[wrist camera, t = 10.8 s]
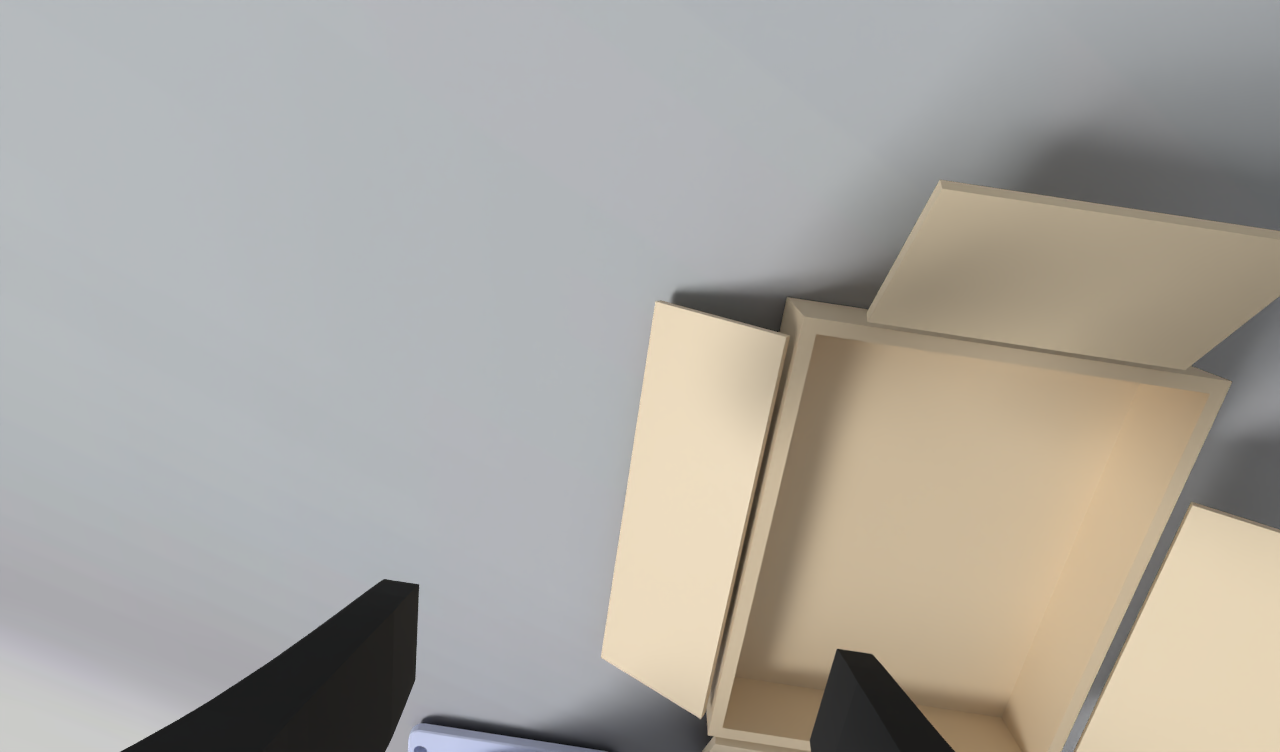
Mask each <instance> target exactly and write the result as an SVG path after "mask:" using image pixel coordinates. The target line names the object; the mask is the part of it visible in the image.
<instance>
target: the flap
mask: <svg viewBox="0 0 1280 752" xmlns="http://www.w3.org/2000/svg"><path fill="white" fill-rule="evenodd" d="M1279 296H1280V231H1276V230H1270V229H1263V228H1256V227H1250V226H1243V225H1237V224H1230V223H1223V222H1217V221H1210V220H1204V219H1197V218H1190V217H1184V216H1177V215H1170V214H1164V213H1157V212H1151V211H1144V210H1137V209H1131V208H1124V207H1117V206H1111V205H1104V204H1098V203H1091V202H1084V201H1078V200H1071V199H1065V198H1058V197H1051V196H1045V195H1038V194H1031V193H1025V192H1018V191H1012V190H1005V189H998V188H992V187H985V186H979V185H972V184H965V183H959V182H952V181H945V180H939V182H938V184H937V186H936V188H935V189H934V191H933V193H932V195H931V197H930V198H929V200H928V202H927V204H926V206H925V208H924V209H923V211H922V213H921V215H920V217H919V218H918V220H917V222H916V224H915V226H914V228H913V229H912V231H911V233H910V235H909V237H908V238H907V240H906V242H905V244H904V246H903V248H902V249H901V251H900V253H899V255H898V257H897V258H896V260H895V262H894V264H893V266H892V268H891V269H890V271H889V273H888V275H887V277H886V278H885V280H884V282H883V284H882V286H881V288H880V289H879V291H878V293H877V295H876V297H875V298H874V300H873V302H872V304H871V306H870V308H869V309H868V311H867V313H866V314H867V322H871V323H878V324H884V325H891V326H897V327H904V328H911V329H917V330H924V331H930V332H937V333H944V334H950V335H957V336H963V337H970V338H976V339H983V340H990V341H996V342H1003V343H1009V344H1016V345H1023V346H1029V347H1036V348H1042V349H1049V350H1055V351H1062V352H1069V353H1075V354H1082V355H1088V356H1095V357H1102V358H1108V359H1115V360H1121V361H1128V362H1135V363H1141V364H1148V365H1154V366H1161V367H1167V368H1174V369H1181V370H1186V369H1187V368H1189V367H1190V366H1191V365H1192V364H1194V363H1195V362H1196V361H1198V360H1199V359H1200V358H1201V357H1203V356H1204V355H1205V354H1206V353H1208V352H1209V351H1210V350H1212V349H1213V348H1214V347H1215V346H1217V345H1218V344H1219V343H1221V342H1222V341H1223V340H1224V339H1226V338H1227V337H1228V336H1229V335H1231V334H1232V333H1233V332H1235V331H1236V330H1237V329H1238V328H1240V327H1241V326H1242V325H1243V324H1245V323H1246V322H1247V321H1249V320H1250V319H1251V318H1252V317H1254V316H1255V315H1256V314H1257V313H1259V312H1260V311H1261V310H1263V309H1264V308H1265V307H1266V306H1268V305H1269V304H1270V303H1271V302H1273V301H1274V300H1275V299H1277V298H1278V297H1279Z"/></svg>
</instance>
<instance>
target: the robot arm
mask: <svg viewBox="0 0 1280 752" xmlns="http://www.w3.org/2000/svg"><path fill="white" fill-rule="evenodd" d="M418 597H419V584H412V583H406V582H399V581H393V580H386V579H383V580H382V581H381V582H379V583H378V584H376V585H375V586H374V587H372V588H371V589H369V590H368V591H367V592H365V593H364V594H362V595H361V596H360V597H358V598H357V599H356V600H354V601H353V602H352V603H350V604H349V605H348V606H346V607H345V608H344V609H342V610H341V611H340V612H338V613H337V614H336V615H334V616H333V617H332V618H330V619H329V620H327V621H326V622H325V623H323V624H322V625H321V626H319V627H318V628H317V629H315V630H314V631H312V632H311V633H310V634H308V635H307V636H305V637H304V638H303V639H301V640H300V641H298V642H297V643H296V644H294V645H293V646H291V647H290V648H288V649H287V650H286V651H284V652H283V653H281V654H280V655H279V656H277V657H276V658H274V659H273V660H271V661H270V662H269V663H267V664H266V665H264V666H263V667H261V668H260V669H258V670H257V671H255V672H253V673H252V674H250V675H249V676H247V677H246V678H244V679H243V680H241V681H240V682H238V683H237V684H235V685H234V686H232V687H230V688H229V689H227V690H226V691H224V692H223V693H221V694H220V695H218V696H217V697H215V698H214V699H212V700H210V701H209V702H207V703H206V704H204V705H202V706H201V707H199V708H197V709H196V710H194V711H192V712H191V713H189V714H187V715H185V716H184V717H182V718H180V719H179V720H177V721H175V722H173V723H172V724H170V725H168V726H166V727H164V728H163V729H161V730H159V731H157V732H155V733H154V734H152V735H150V736H148V737H147V738H145V739H143V740H141V741H139V742H138V743H136V744H134V745H132V746H130V747H128V748H126V749H125V750H123V751H121V752H385V751H386V749H387V747H388V745H389V743H390V741H391V739H392V736H393V734H394V731H395V729H396V727H397V724H398V722H399V719H400V717H401V715H402V712H403V710H404V707H405V705H406V702H407V699H408V697H409V694H410V692H411V689H412V687H413V684H414V682H415V672H416V647H417V622H418ZM421 746H422V747H421ZM424 747H425V748H424ZM810 747H811V752H955V751H954V750H953V749H952V747H951V746H950V745H949V744H948V743H947V742H946V741H945V739H944V738H943V737H942V736H941V735H940V734H939V732H938V731H937V730H936V729H935V728H934V726H933V725H932V724H931V723H930V722H929V721H928V719H927V718H926V717H925V716H924V715H923V713H922V712H921V711H920V710H919V709H918V707H917V706H916V705H915V704H914V703H913V701H912V700H911V699H910V698H909V697H908V695H907V694H906V693H905V692H904V691H903V689H902V688H901V687H900V686H899V685H898V683H897V682H896V681H895V680H894V679H893V677H892V676H891V675H890V674H889V673H888V671H887V670H886V669H885V668H884V667H883V665H882V664H881V663H880V662H879V661H878V660H877V659H876V657H875V656H874V655H873V654H869V653H863V652H856V651H850V650H843V649H837V650H836V653H835V657H834V660H833V663H832V667H831V670H830V673H829V677H828V680H827V684H826V687H825V690H824V694H823V697H822V700H821V704H820V707H819V711H818V714H817V717H816V721H815V724H814V727H813V731H812V734H811V738H810ZM408 752H608V751H601V750H595V749H588V748H582V747H575V746H569V745H562V744H556V743H549V742H543V741H536V740H530V739H523V738H517V737H510V736H504V735H497V734H491V733H484V732H478V731H471V730H465V729H458V728H452V727H445V726H439V725H432V724H426V723H420V724H417V725H415V726H414V727H413V728H412V730H411V733H410V735H409V738H408Z"/></svg>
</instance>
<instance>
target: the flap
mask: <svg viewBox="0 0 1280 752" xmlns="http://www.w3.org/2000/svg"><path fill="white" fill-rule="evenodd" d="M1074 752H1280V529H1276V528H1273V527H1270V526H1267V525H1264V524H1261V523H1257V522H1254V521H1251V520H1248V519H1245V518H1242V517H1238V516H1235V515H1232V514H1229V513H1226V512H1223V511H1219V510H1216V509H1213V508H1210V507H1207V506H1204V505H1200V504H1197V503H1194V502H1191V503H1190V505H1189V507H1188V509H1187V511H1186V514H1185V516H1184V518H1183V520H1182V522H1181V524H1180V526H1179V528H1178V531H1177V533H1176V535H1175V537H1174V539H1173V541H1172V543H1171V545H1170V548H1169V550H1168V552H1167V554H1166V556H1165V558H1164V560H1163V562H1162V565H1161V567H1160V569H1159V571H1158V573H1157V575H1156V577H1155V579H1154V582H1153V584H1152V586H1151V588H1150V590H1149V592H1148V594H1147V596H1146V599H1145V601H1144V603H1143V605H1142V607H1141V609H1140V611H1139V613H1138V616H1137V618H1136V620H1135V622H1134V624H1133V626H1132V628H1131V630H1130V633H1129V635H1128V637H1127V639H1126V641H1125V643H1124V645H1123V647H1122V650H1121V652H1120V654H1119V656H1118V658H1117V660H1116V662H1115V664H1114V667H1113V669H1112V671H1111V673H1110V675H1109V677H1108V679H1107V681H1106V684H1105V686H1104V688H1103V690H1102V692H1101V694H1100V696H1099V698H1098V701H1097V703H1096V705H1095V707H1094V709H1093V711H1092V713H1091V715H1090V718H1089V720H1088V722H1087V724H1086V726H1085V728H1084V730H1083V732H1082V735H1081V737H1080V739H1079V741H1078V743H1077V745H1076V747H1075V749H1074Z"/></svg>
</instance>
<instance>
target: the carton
mask: <svg viewBox="0 0 1280 752" xmlns="http://www.w3.org/2000/svg"><path fill="white" fill-rule="evenodd" d="M867 311H868V309H863V308H856V307H849V306H843V305H836V304H830V303H823V302H817V301H810V300H803V299H797V298H790V297H787V299H786V304H785V309H784V313H783V318H782V322H781V327H780V331H779V332H776V331H772V330H768V329H765V328H761V327H757V326H754V325H750V324H746V323H742V322H739V321H735V320H731V319H728V318H724V317H720V316H717V315H713V314H709V313H705V312H702V311H698V310H694V309H691V308H687V307H683V306H679V305H676V304H672V303H668V302H665V301H656V302H655V308H654V315H653V321H652V328H651V334H650V341H649V347H648V354H647V360H646V367H645V373H644V380H643V386H642V393H641V399H640V406H639V412H638V419H637V425H636V432H635V439H634V445H633V452H632V458H631V465H630V471H629V478H628V484H627V491H626V497H625V504H624V510H623V517H622V523H621V530H620V536H619V543H618V549H617V556H616V562H615V569H614V575H613V582H612V588H611V595H610V601H609V608H608V615H607V621H606V628H605V634H604V641H603V647H602V654H601V658H603V659H604V660H606V661H608V662H609V663H611V664H612V665H614V666H616V667H617V668H619V669H620V670H622V671H624V672H625V673H627V674H629V675H630V676H632V677H633V678H635V679H637V680H638V681H640V682H642V683H643V684H645V685H646V686H648V687H650V688H651V689H653V690H654V691H656V692H658V693H659V694H661V695H663V696H664V697H666V698H667V699H669V700H671V701H672V702H674V703H676V704H677V705H679V706H680V707H682V708H684V709H685V710H687V711H688V712H690V713H692V714H693V715H695V716H697V717H698V718H700V719H701V718H702V717H703V716H704V714H705V712H707V729H708V736H714V737H713V738H712V739H711V740H710V742H709V743H708V744H707V746H706V747H705V748H704V749H703V751H702V752H811V747H810V738H811V734H812V731H813V727H814V724H815V721H816V717H817V714H818V711H819V707H820V704H821V700H822V697H823V694H824V690H825V687H826V684H827V680H828V677H829V673H830V670H831V667H832V663H833V660H834V657H835V653H836V650H837V649H843V650H850V651H856V652H863V653H869V654H873V655H874V656H875V657H876V659H877V660H878V661H879V662H880V663H881V664H882V665H883V667H884V668H885V669H886V670H887V671H888V673H889V674H890V675H891V676H892V677H893V679H894V680H895V681H896V682H897V683H898V685H899V686H900V687H901V688H902V689H903V691H904V692H905V693H906V694H907V695H908V697H909V698H910V699H911V700H912V701H913V703H914V704H915V705H916V706H917V707H918V709H919V710H920V711H921V712H922V713H923V715H924V716H925V717H926V718H927V719H928V721H929V722H930V723H931V724H932V725H933V726H934V728H935V729H936V730H937V731H938V732H939V734H940V735H941V736H942V737H943V738H944V739H945V741H946V742H947V743H948V744H949V745H950V746H951V747H952V749H953V750H954V751H955V752H1061V751H1062V749H1063V747H1064V744H1065V742H1066V740H1067V738H1068V736H1069V734H1070V731H1071V729H1072V727H1073V725H1074V723H1075V721H1076V718H1077V716H1078V714H1079V712H1080V710H1081V708H1082V705H1083V703H1084V701H1085V699H1086V697H1087V695H1088V692H1089V690H1090V688H1091V686H1092V684H1093V682H1094V679H1095V677H1096V675H1097V673H1098V671H1099V669H1100V667H1101V664H1102V662H1103V660H1104V658H1105V656H1106V654H1107V651H1108V649H1109V647H1110V645H1111V643H1112V641H1113V638H1114V636H1115V634H1116V632H1117V630H1118V628H1119V625H1120V623H1121V621H1122V619H1123V617H1124V615H1125V612H1126V610H1127V608H1128V606H1129V604H1130V602H1131V600H1132V597H1133V595H1134V593H1135V591H1136V589H1137V587H1138V584H1139V582H1140V580H1141V578H1142V576H1143V574H1144V571H1145V569H1146V567H1147V565H1148V563H1149V561H1150V558H1151V556H1152V554H1153V552H1154V550H1155V548H1156V545H1157V543H1158V541H1159V539H1160V537H1161V535H1162V532H1163V530H1164V528H1165V526H1166V524H1167V522H1168V519H1169V517H1170V515H1171V513H1172V511H1173V509H1174V507H1175V504H1176V502H1177V500H1178V498H1179V496H1180V494H1181V491H1182V489H1183V487H1184V485H1185V483H1186V481H1187V478H1188V476H1189V474H1190V472H1191V470H1192V468H1193V465H1194V463H1195V461H1196V459H1197V457H1198V455H1199V452H1200V450H1201V448H1202V446H1203V444H1204V442H1205V440H1206V437H1207V435H1208V433H1209V431H1210V429H1211V427H1212V424H1213V422H1214V420H1215V418H1216V416H1217V414H1218V411H1219V409H1220V407H1221V405H1222V403H1223V401H1224V398H1225V396H1226V394H1227V392H1228V390H1229V388H1230V385H1231V383H1232V381H1229V380H1227V379H1224V378H1222V377H1219V376H1216V375H1214V374H1211V373H1209V372H1206V371H1203V370H1201V369H1198V368H1195V367H1193V366H1190V367H1189V368H1187V369H1186V370H1181V369H1174V368H1167V367H1161V366H1154V365H1148V364H1141V363H1135V362H1128V361H1121V360H1115V359H1108V358H1102V357H1095V356H1088V355H1082V354H1075V353H1069V352H1062V351H1055V350H1049V349H1042V348H1036V347H1029V346H1023V345H1016V344H1009V343H1003V342H996V341H990V340H983V339H976V338H970V337H963V336H957V335H950V334H944V333H937V332H930V331H924V330H917V329H911V328H904V327H897V326H891V325H884V324H878V323H871V322H867V314H866V313H867Z"/></svg>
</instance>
